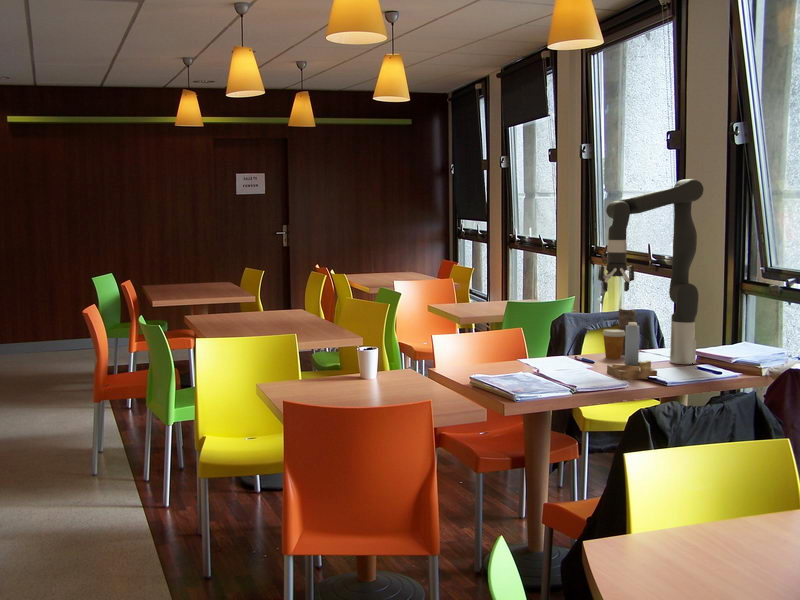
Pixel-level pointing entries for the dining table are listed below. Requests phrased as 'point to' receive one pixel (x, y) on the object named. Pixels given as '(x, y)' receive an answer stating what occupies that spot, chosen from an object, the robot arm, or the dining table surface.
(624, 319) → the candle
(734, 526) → the dining table surface
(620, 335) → the disposable coffee cup
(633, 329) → the flask
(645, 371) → the display stand
